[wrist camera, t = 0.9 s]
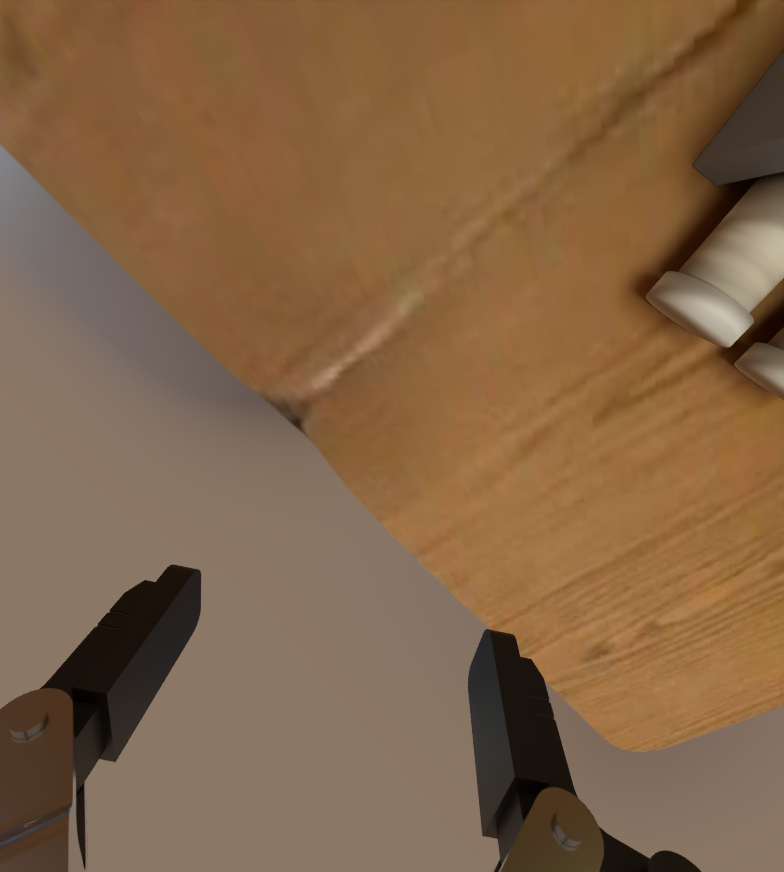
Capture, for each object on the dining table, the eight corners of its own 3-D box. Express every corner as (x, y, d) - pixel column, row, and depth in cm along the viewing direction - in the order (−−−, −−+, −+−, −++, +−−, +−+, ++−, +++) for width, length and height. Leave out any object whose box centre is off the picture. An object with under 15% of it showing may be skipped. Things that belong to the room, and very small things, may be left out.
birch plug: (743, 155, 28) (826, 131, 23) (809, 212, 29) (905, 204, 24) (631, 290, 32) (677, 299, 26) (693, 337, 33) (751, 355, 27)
